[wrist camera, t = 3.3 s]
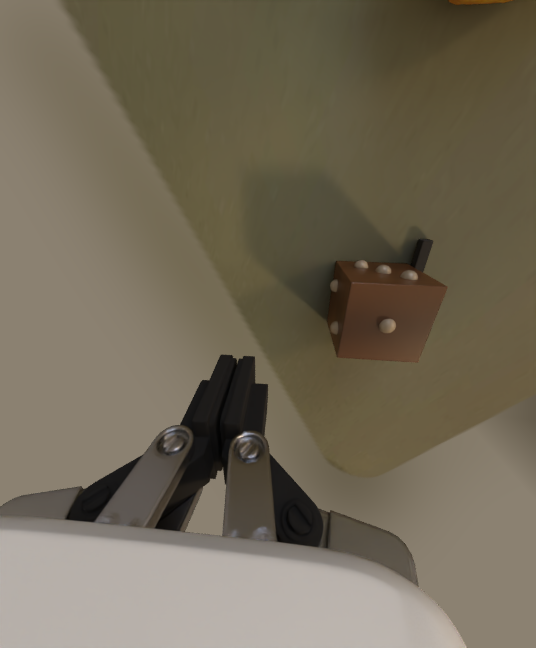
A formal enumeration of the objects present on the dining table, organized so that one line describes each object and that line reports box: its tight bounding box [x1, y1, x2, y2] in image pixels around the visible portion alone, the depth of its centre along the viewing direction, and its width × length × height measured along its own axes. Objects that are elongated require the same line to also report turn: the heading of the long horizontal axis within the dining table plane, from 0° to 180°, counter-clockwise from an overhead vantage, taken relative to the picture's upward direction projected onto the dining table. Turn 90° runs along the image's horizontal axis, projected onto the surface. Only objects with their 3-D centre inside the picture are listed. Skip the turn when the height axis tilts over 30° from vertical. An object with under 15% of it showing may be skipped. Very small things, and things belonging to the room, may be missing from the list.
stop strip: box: [411, 239, 433, 272], centre depth 21 cm, size 10×1×1 cm, turn 179°
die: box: [327, 260, 447, 362], centre depth 19 cm, size 6×6×6 cm
